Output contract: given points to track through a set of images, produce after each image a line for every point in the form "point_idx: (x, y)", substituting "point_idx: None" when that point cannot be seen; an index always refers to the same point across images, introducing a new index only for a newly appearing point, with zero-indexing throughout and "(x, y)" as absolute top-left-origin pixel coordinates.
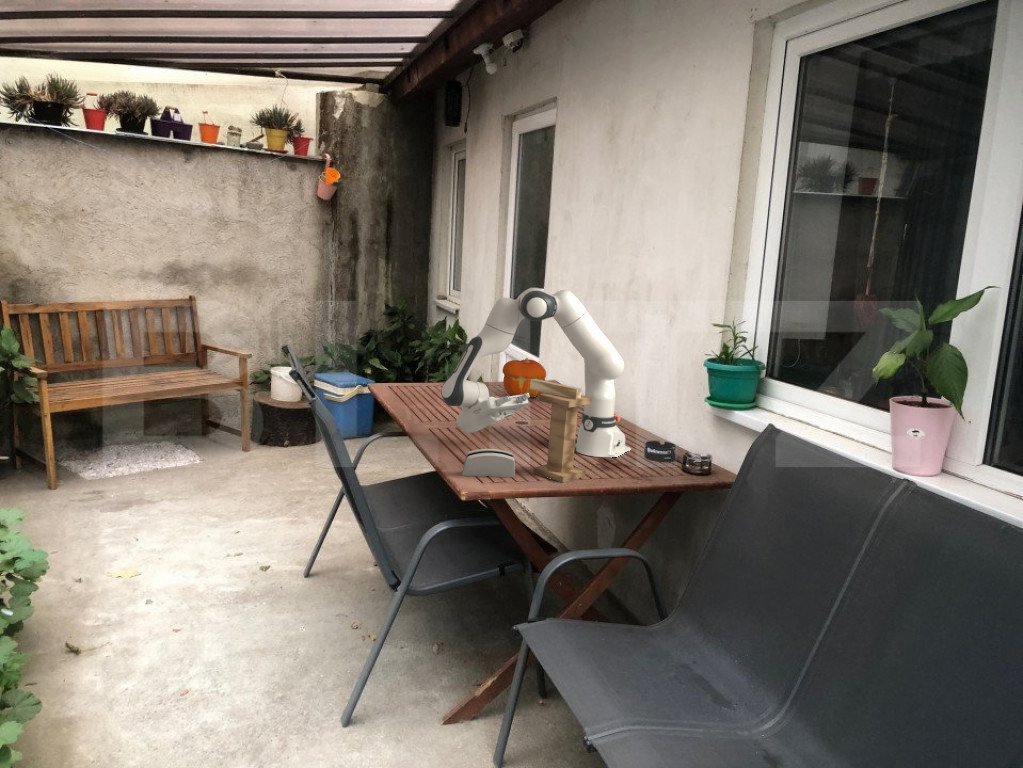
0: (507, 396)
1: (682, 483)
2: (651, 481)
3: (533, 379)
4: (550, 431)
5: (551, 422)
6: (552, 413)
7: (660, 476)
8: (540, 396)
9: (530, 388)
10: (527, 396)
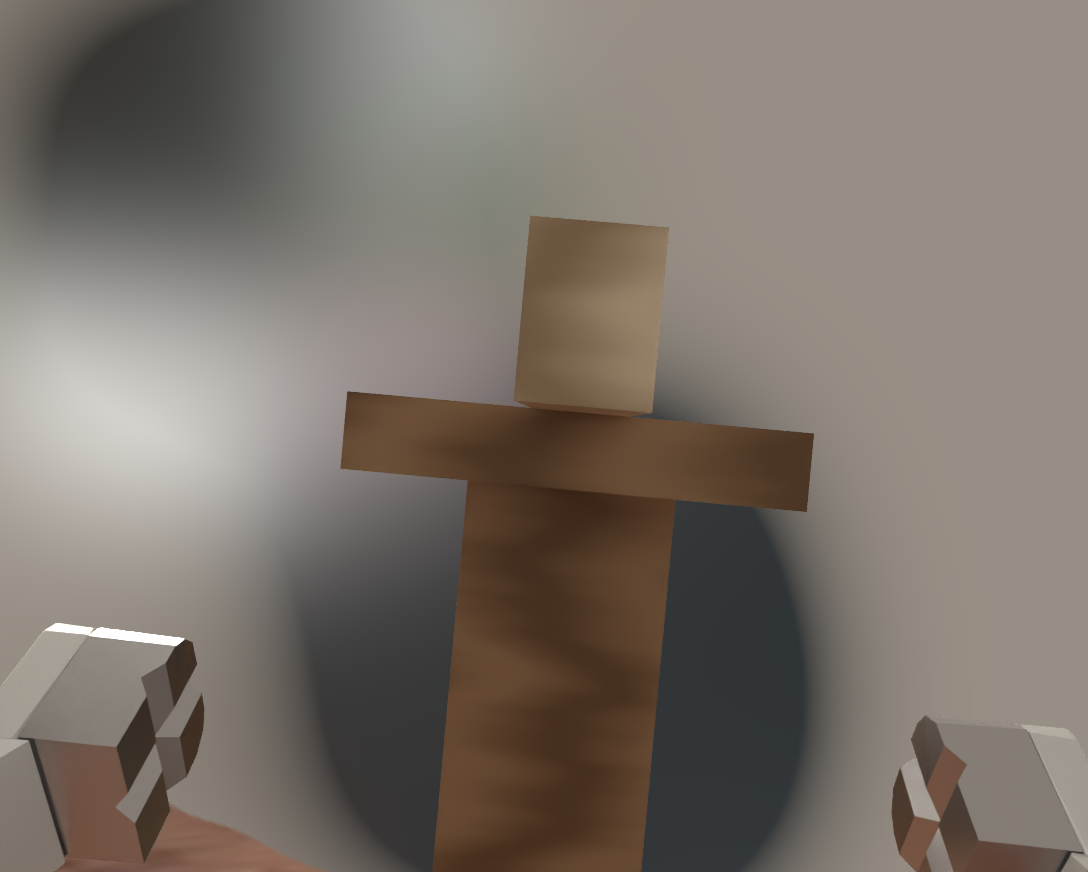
0: (1040, 730)
1: None
2: (185, 847)
3: (605, 226)
4: (643, 823)
5: (652, 720)
6: (662, 618)
7: None
8: (805, 452)
9: (650, 398)
10: (178, 703)
